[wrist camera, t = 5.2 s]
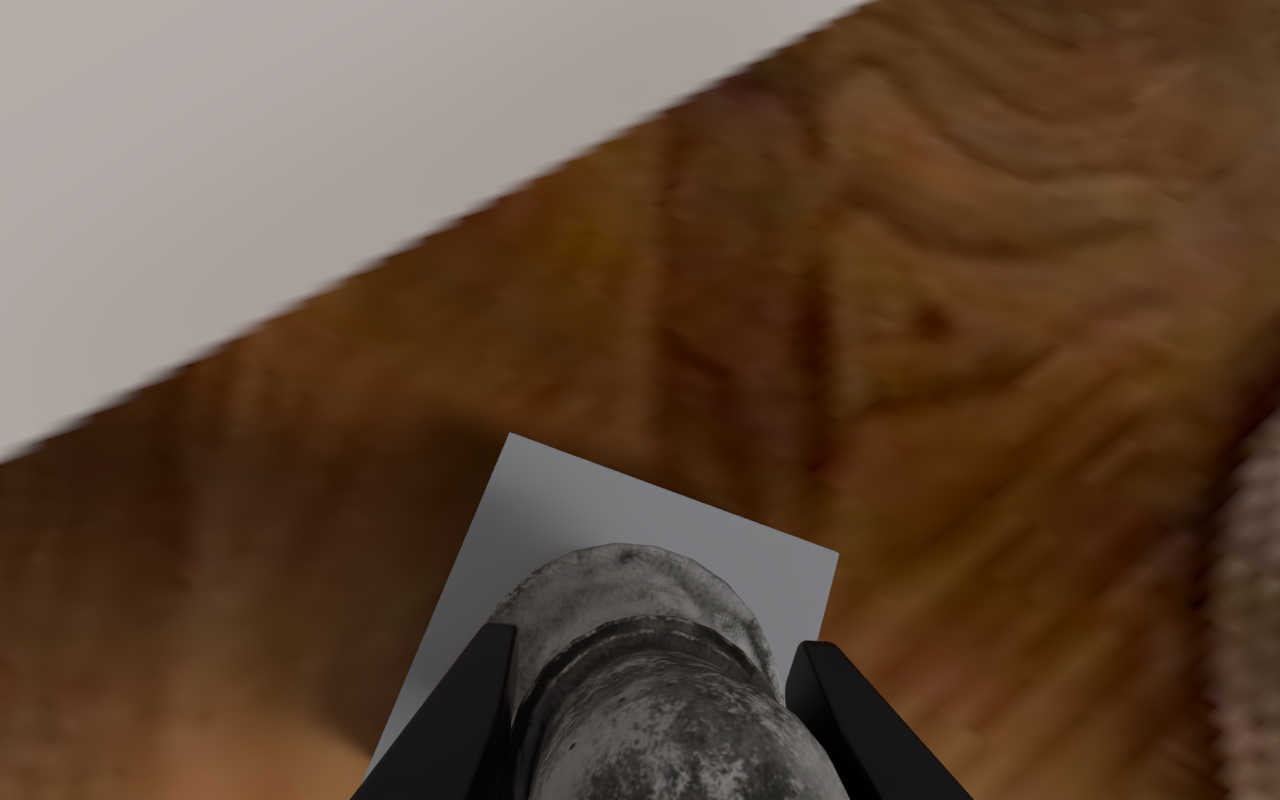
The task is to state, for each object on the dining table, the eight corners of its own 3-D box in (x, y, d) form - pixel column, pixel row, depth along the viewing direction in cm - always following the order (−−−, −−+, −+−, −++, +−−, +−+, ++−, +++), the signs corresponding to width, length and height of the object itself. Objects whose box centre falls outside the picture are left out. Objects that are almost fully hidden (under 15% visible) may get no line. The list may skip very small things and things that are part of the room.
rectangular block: (710, 889, 17) (737, 951, 14) (388, 771, 17) (350, 809, 14) (800, 557, 20) (839, 553, 17) (519, 453, 20) (509, 431, 17)
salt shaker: (775, 620, 16) (1333, 718, 4) (670, 880, 14) (1130, 2180, 3) (557, 508, 16) (536, 314, 4) (428, 752, 14) (-140, 1449, 3)
